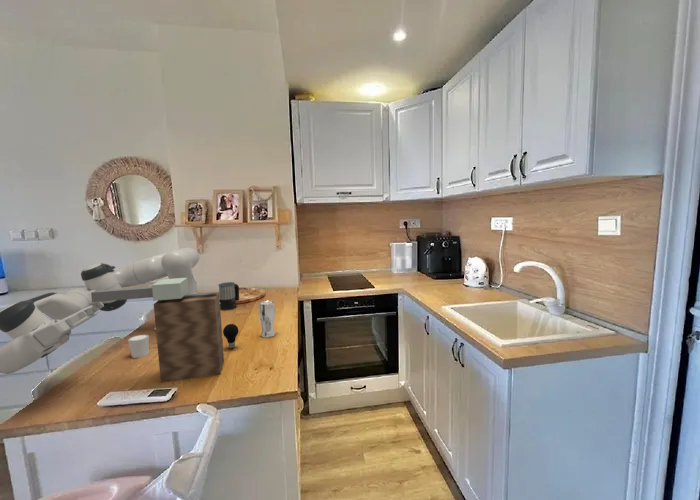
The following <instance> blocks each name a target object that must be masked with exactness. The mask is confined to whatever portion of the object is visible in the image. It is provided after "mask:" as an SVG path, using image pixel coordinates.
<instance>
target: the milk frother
mask: <svg viewBox="0 0 700 500" xmlns="http://www.w3.org/2000/svg"><path fill="white" fill-rule="evenodd" d="M218 290H219V291H218V292H219V298H220V311H230V310H231V311H232V310H233V309H236V308H237V302H238V301H239V300H240V287H239V284H236V283H235V282H229V281H228V282H221V283H219V284H218Z"/></svg>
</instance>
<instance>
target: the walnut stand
mask: <svg viewBox="0 0 700 500" xmlns="http://www.w3.org/2000/svg"><path fill="white" fill-rule="evenodd" d="M153 311H154V312H153V314H154V324H155V327H156V330H155V334H156V345H157V355H158V365H159V366H158V368H159V375H160V376H159V377H160V383H166V382H175V381H181V380H189V379H195V378H202V377H210V376H216V375H221V372H222V370H223V366H224V362H225V359H224V358H225V356H224V354H225V353H224V343H223V328H222V316H221V315H222V313H221V309H220V293H219V291H218V292H207V293H205V292H204V293H197V294H191V295H184V296H183V297H182V298H180V299H168V300H156V302H155V303H153Z"/></svg>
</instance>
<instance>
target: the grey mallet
mask: <svg viewBox="0 0 700 500" xmlns="http://www.w3.org/2000/svg"><path fill="white" fill-rule="evenodd" d="M188 292H189V291H188V279H187V278H175V279H169V278H161V279H159V280H158V281H157V282H155V283H154V284H151V286H141V287H124V288H122V289H111V290H97V291H94V292H91V297H92V302H100V301H112V300H125V299H127V300H134V299H136V300H137V299H145V298H146V299H147V298H152V299H153V302H154V301H156V302H157V301H158V300H168V299H180V298H182V297H183V296H184V295H185V294H187V293H188Z"/></svg>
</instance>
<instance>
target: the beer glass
mask: <svg viewBox="0 0 700 500" xmlns="http://www.w3.org/2000/svg"><path fill="white" fill-rule="evenodd" d="M275 307H276V306H275V301H274V300H263V301H260V302H259V303H258V316H259V317H258V318H259V322H260V326H261V335H260V336H261V337H262V338H263V339H264V338H265V339H269V338H273V337H275V335H276V331H275V320H276V319H275V318H276V308H275Z"/></svg>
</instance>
